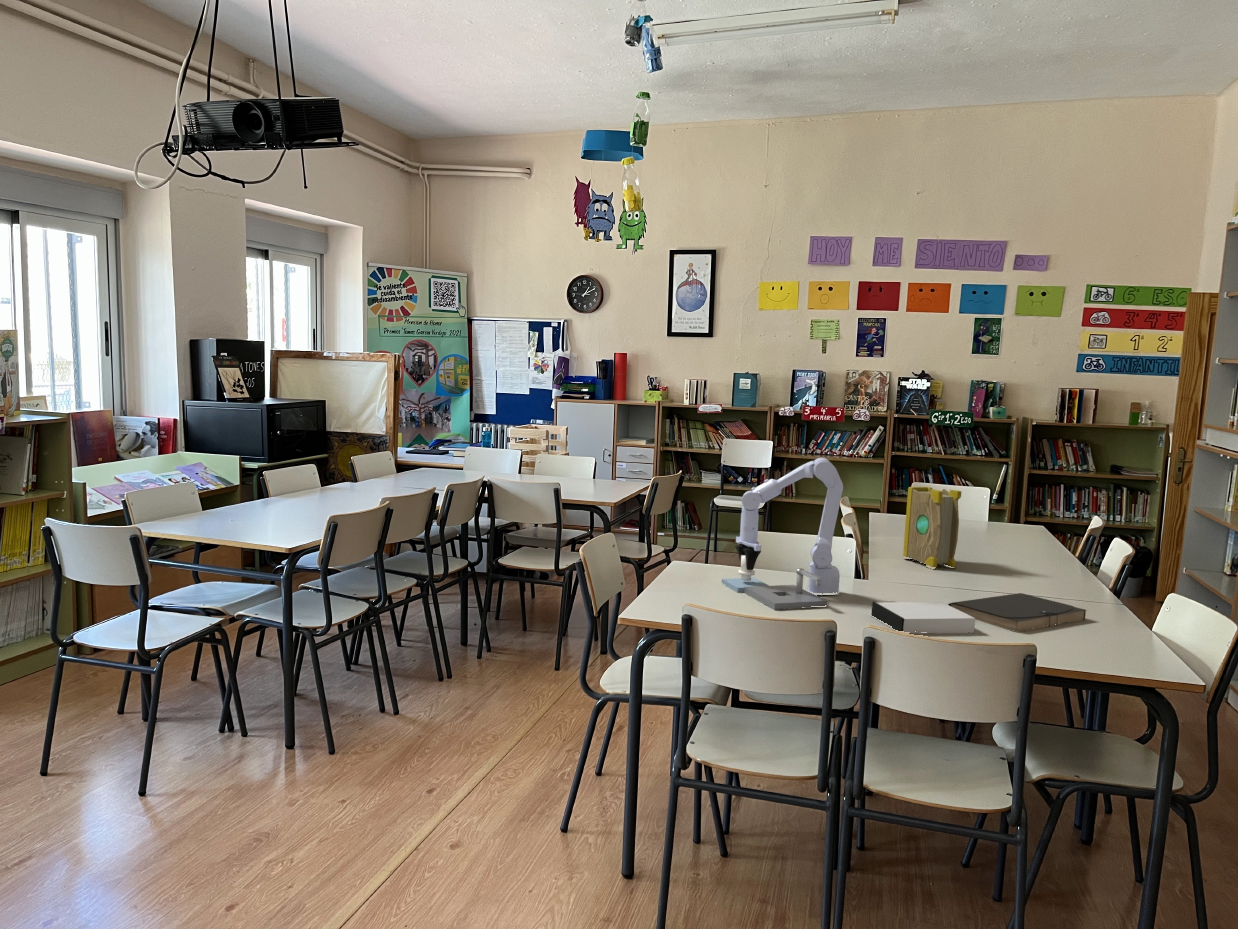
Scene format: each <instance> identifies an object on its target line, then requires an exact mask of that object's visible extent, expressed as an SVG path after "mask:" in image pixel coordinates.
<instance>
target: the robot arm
mask: <svg viewBox="0 0 1238 929" xmlns="http://www.w3.org/2000/svg"><path fill="white" fill-rule="evenodd" d="M814 476H815V477H816V478H817V479H818V480H820V481H821V482H823V484H824V486H825V487H826V488H827V491H826V496H825V500H824V505H823V509H822V514H821V519H820V525H819V529H818V534H817V536H816V539H815V543H814V545H813V546H812V547H811V549H810V556H811V558H812V561H811V562H810V563H809V564H808V566H809V569H808V572H810V573H812V574H815V575H817V576H819V577H821V585H820V586H816V585H815V581H816V580H813V579H811V578H809V577H808V580H807V581H808V582H807V588H808V591H810V592H813V593H822V594H823V593H833V592H834V593H836V592H837V593H838V592H839V591H840V576H841V574H840V570H839V568H838V567H837V566H835V565H833V564H832V562H833V555H832V547H833V537H834V534H835V528H836V523H837V520H838V519H837V518H838V515H839V509H840V505H841V500H842V495H843V491H844V484H843V481H842V479H841V477H840V474H839V472H838V470H837V468H836V467H835V465H833V463H832V462H831V461H830V460H829V459H827V458H825V457H818V458H816V459H814V460H811V461H808V462H806V463H804V464H801V465H800V466H798V467H796V468H795V469H793V470H792V471H790V472H788V473H786V474H785V475H784V476H782V477H780V478H778V479H773V478H770V479H768V478H767V479H765V480H764V481H763V483H761V484H760V485H758V486H756V487H755V486H753V487H752V488H751V490H747V491H745V493H743V495H742V497H741V504H742V508H741V513H740V528H739V529H740V531H739V536H735V543H737V544H736V545H734V546H735V547H734V548H735V549H736V552H737V554H738V558H739V559H738V560H739V565H740V566H741V555H745V557H746V568H747V570H754V569H755V565H756V563H757V559H758V557H759V556H760V554H761V552H762V544H760V543H759V541H758V532H759V519H760V517H759V516H760V515H759V506H760V505H761V504H764V503H766V502H768V501H770V500H772V499H773V498H776V497H777V496H779V495H781V493H782V490H783V489H784V488H786V487H788V486H790V485H792V484H793V483H795V482H797V481H799V480H801V479H804V478H807V479H808V478H809V479H813V478H814ZM839 593H840V592H839Z"/></svg>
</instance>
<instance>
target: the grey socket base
mask: <svg viewBox="0 0 1238 929" xmlns="http://www.w3.org/2000/svg"><path fill="white" fill-rule="evenodd" d="M803 586H804V575H802V574H799V573H796V584H779V585H769V586H753V587H745V591H744V592H743V593H744V594H746V595H748V596H749V597H751V598H752V599H754V600H756V601H758V603H759V602H760V603H761V604H763V605H765V606H767V608H770V609H772V610H774V611H781V610H780V609H783V610H790V609H789V608H802V607H811V606H825V605H827V606H828V600H826V599H824V598H822V597H821V596H816V595H814V594H812V593H810V592H808V591H806V590H804V587H803ZM802 609H803V608H802Z"/></svg>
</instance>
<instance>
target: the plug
mask: <svg viewBox="0 0 1238 929" xmlns="http://www.w3.org/2000/svg"><path fill="white" fill-rule="evenodd" d="M737 571H738V572H737V574H738V575H740V576H741V577H740V578H741V580H744V581H751V578H752V576H755V573H756V571H755V570H754V569H753V570H747V568H746V557H745V555H741V565H740V568H739V569H738V570H737Z"/></svg>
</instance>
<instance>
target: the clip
mask: <svg viewBox="0 0 1238 929" xmlns="http://www.w3.org/2000/svg"><path fill="white" fill-rule="evenodd" d="M795 572H796V574H797V573H799V574H802V575H803V577H807V578H808V579H809V578H811V579H813V580H816V581H815V585H816V586H820V585H821V577H819V576H817V575H815V574H812V573H810V572H809V570H805V569H804V568H799V567H797V568H796V571H795Z"/></svg>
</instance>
